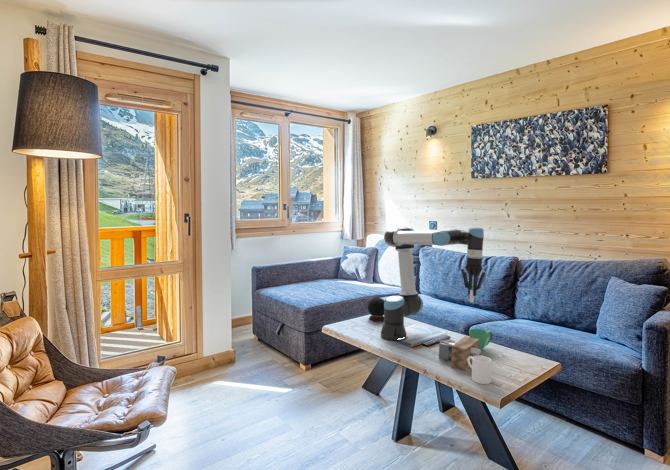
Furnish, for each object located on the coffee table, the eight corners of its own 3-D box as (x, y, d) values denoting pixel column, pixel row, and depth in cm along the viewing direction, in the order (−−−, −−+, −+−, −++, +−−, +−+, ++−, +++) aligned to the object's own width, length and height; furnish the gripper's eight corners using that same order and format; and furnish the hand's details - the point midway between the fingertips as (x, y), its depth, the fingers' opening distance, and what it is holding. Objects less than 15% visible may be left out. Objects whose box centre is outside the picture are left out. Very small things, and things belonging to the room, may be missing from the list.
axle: (439, 347, 201) (439, 341, 201) (442, 345, 204) (442, 339, 203) (478, 357, 188) (478, 350, 188) (481, 355, 191) (481, 348, 191)
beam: (451, 366, 190) (451, 345, 189) (464, 355, 204) (465, 336, 203) (465, 370, 185) (466, 349, 185) (478, 359, 200) (478, 339, 199)
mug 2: (472, 371, 185) (473, 351, 184) (494, 381, 174) (495, 360, 174) (460, 375, 180) (461, 354, 180) (482, 385, 170) (483, 363, 169)
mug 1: (478, 354, 206) (479, 335, 205) (464, 348, 214) (464, 330, 214) (497, 349, 212) (498, 331, 212) (483, 344, 221) (484, 326, 220)
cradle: (438, 359, 199) (439, 343, 198) (445, 354, 205) (445, 339, 205) (448, 361, 196) (448, 345, 195) (454, 356, 202) (454, 341, 201)
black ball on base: (377, 315, 276) (377, 294, 275) (390, 319, 266) (391, 298, 264) (363, 318, 267) (363, 297, 266) (377, 323, 257) (377, 301, 256)
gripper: (459, 256, 204) (456, 300, 207) (484, 259, 196) (481, 305, 198) (464, 255, 210) (462, 298, 212) (489, 258, 202) (486, 302, 204)
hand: (471, 301), depth 205 cm, fingers closed
